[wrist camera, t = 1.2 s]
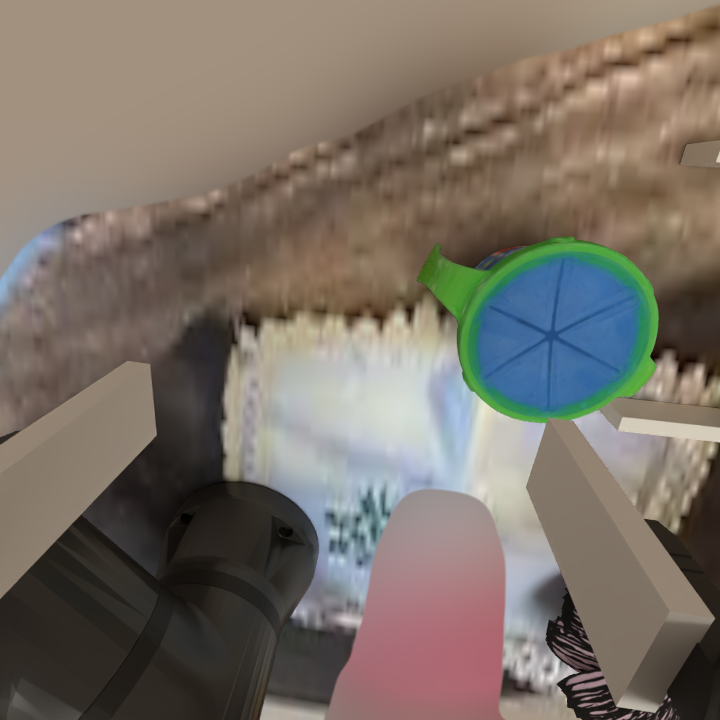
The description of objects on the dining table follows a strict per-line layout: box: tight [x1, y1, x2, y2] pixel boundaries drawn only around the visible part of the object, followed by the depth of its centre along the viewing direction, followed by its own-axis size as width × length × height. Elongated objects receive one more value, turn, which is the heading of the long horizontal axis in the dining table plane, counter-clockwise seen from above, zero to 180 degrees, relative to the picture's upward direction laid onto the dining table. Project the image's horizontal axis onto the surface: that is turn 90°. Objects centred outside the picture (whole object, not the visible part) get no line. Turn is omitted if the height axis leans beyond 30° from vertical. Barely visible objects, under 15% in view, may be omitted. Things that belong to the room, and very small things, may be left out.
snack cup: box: [417, 236, 659, 423], centre depth 28 cm, size 16×10×10 cm
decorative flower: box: [546, 588, 679, 720], centre depth 39 cm, size 14×12×15 cm
